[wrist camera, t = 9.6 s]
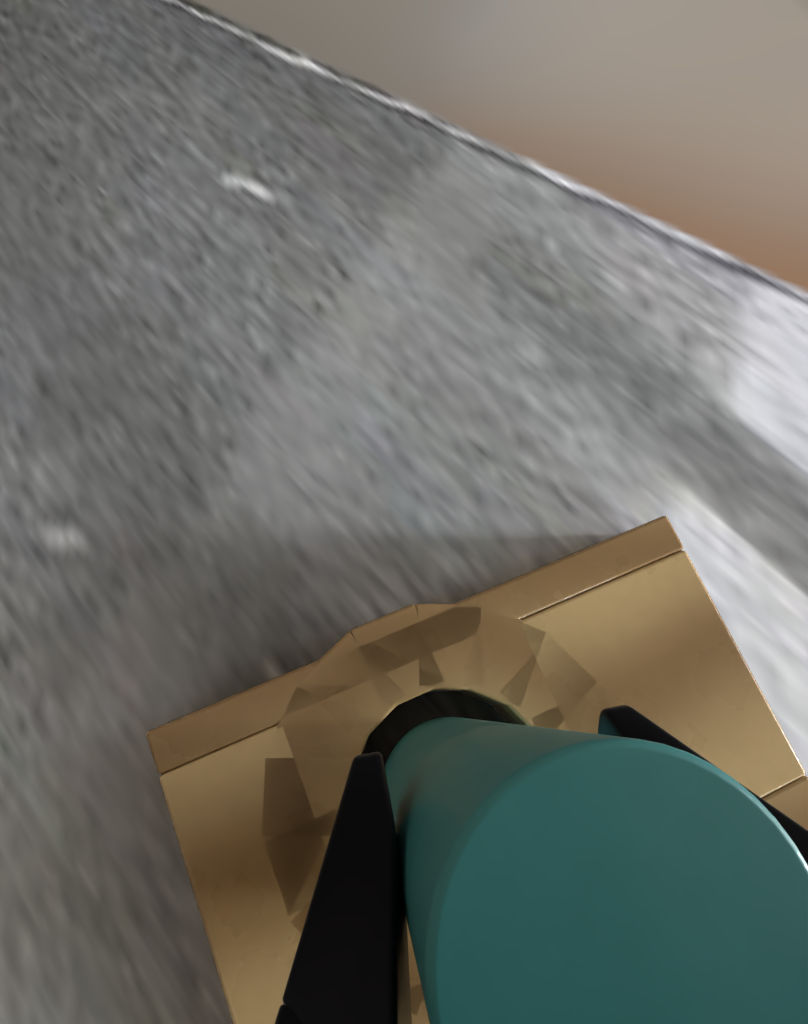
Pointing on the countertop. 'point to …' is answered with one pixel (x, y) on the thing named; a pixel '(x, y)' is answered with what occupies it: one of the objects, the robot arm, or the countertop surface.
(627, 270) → the countertop surface
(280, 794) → the board
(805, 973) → the peg
